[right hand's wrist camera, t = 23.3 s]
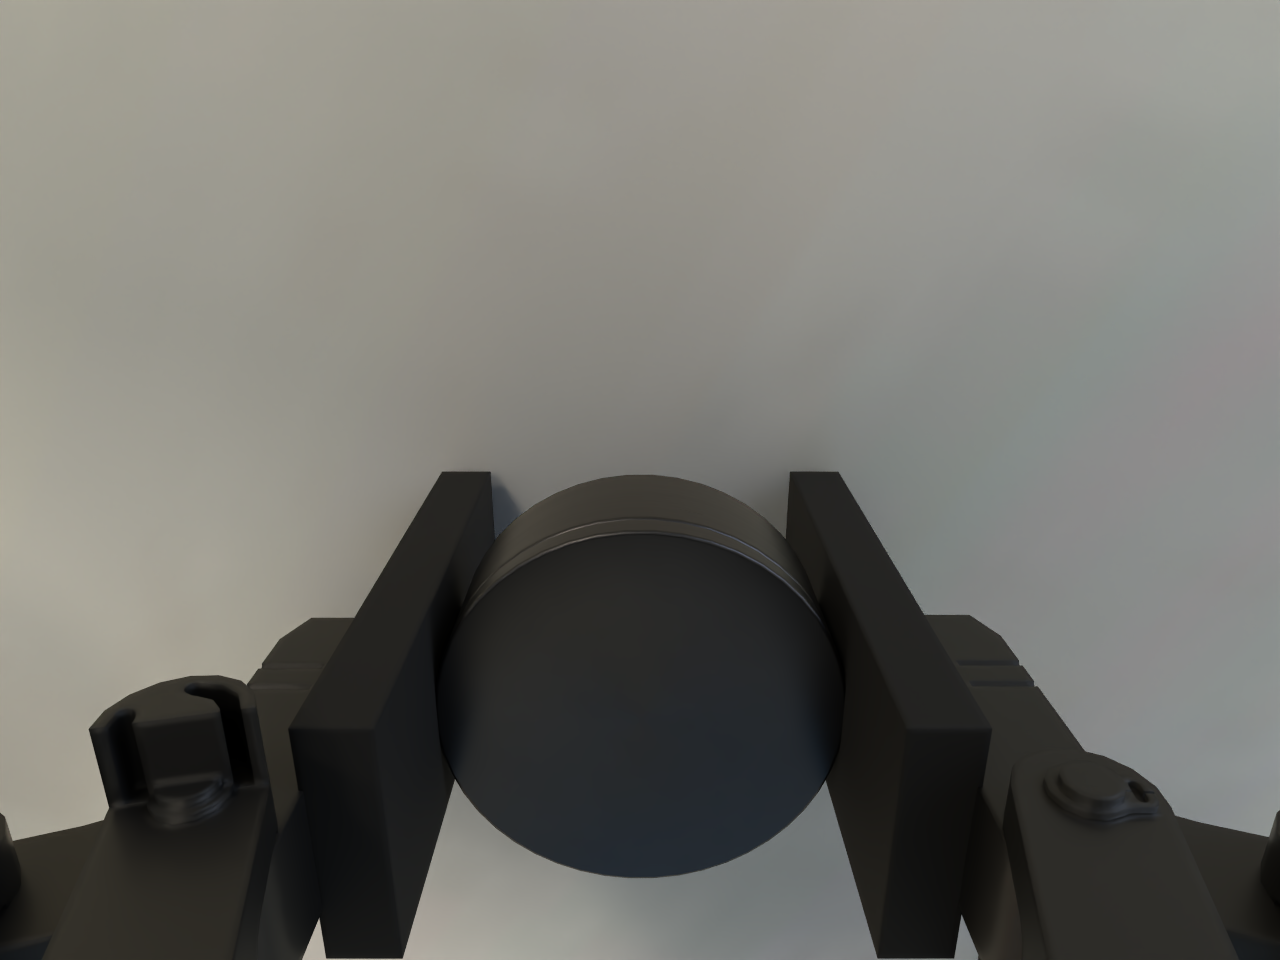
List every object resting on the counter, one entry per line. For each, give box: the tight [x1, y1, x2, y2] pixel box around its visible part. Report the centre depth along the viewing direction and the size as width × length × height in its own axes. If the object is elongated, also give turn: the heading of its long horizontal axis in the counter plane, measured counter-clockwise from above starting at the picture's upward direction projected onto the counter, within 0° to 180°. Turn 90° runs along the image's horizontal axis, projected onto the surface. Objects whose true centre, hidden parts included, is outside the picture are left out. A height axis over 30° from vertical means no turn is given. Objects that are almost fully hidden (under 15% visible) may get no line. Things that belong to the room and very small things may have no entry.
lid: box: [436, 475, 845, 878], centre depth 11 cm, size 5×5×2 cm
